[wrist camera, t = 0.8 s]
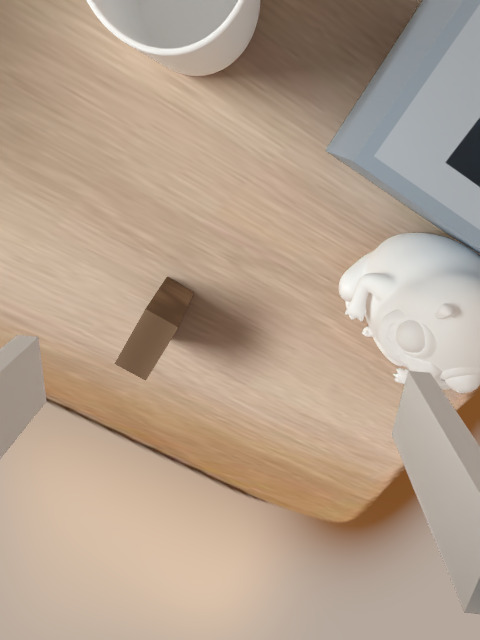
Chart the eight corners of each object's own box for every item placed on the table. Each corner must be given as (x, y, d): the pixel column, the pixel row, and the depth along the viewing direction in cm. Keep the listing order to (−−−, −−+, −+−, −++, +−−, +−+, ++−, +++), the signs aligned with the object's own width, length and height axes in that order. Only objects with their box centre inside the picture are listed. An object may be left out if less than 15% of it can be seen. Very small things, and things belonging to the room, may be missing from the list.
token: (140, 323, 38) (114, 363, 31) (167, 276, 36) (145, 308, 29) (166, 338, 38) (145, 380, 32) (193, 292, 36) (178, 327, 30)
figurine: (431, 192, 32) (517, 225, 21) (492, 293, 35) (596, 368, 24) (318, 271, 35) (341, 337, 24) (382, 358, 38) (430, 453, 27)
